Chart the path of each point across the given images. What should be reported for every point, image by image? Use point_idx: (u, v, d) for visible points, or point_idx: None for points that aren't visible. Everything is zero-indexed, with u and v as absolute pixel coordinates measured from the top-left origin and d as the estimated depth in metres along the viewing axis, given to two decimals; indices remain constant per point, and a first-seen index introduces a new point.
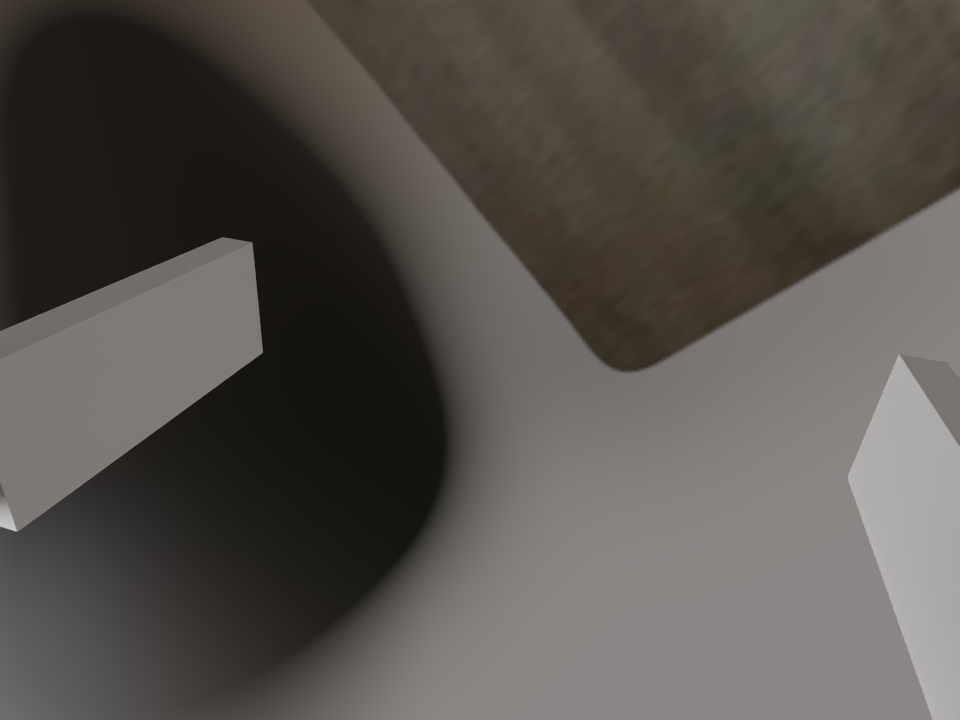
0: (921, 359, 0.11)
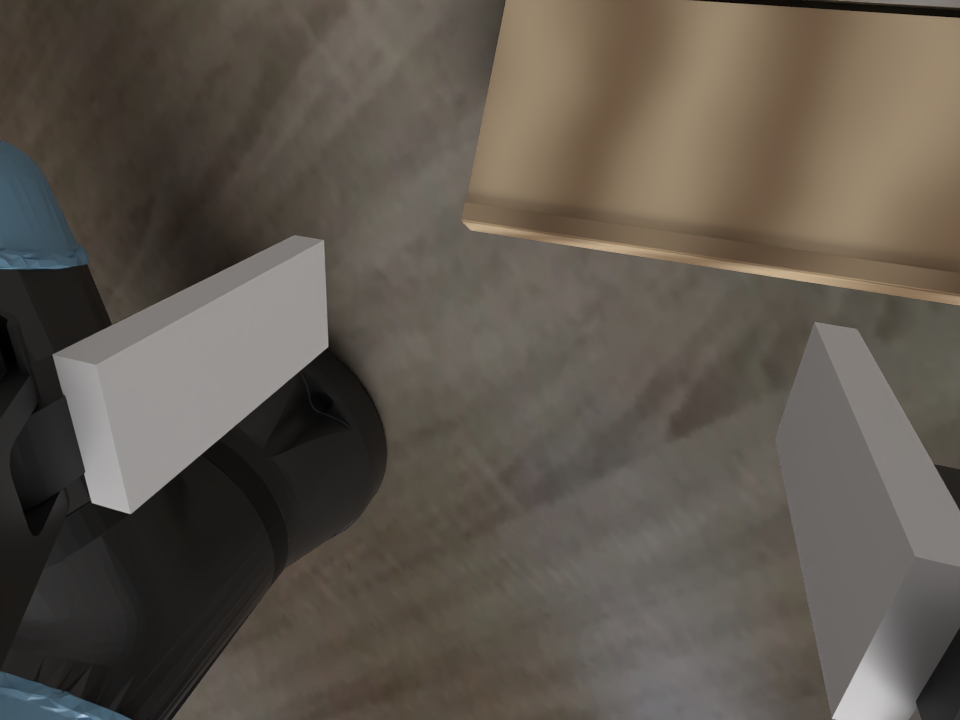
0: (834, 326, 0.12)
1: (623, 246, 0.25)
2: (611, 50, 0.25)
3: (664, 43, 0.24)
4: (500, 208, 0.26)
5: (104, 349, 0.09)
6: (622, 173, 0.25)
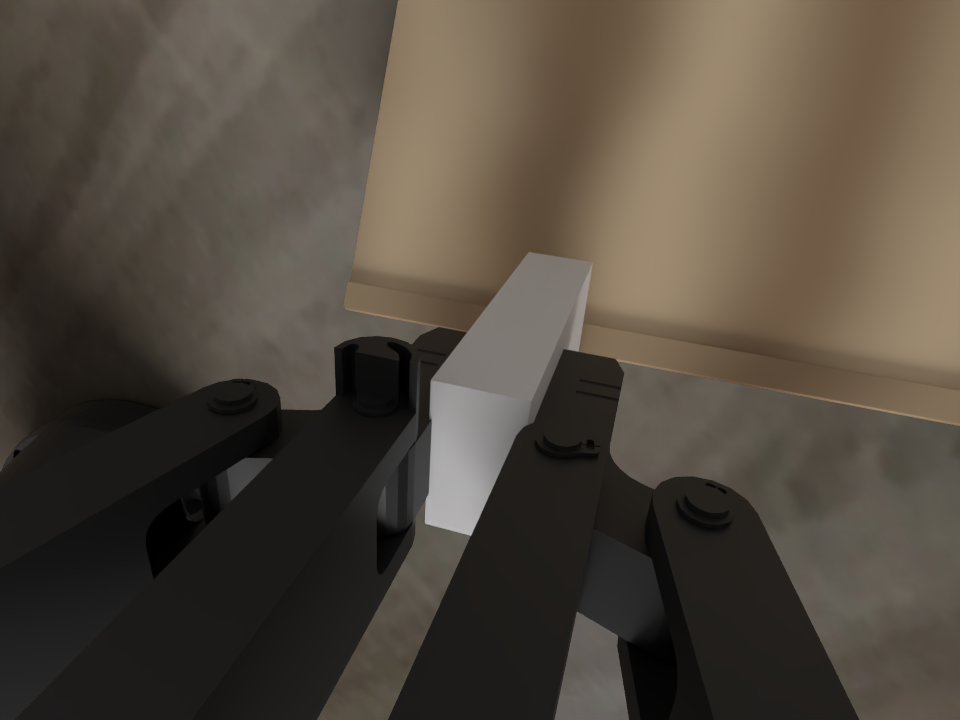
0: (574, 260, 0.15)
1: None
2: (563, 47, 0.16)
3: (645, 35, 0.15)
4: (400, 291, 0.17)
5: (473, 374, 0.10)
6: (581, 241, 0.16)
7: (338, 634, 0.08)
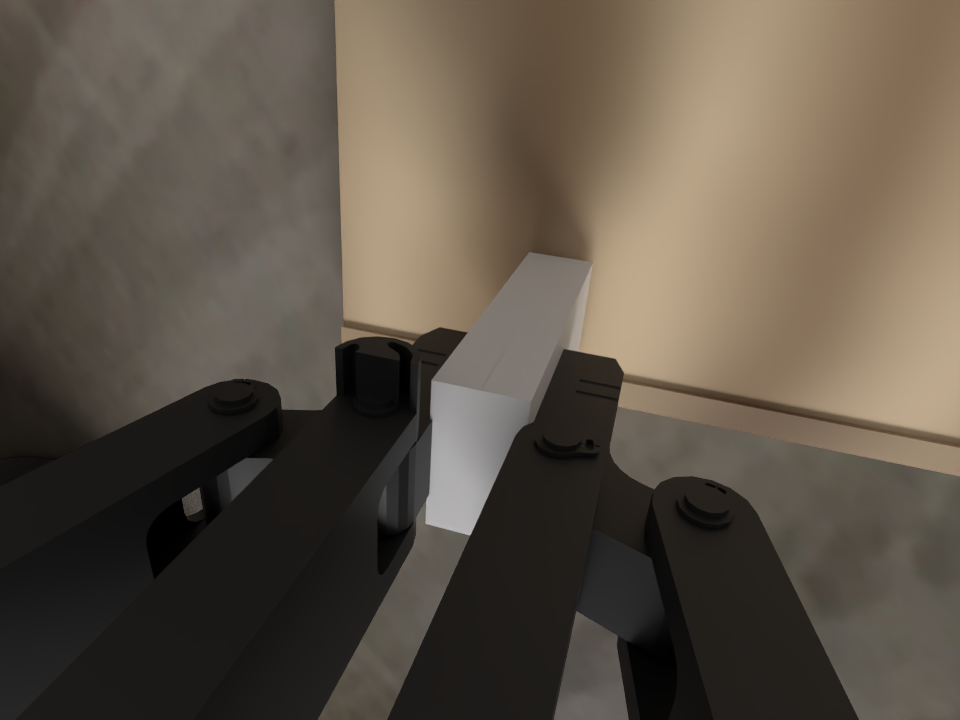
0: (574, 260, 0.15)
1: None
2: (534, 75, 0.13)
3: (630, 60, 0.13)
4: (393, 334, 0.17)
5: (473, 374, 0.10)
6: None
7: (338, 634, 0.08)
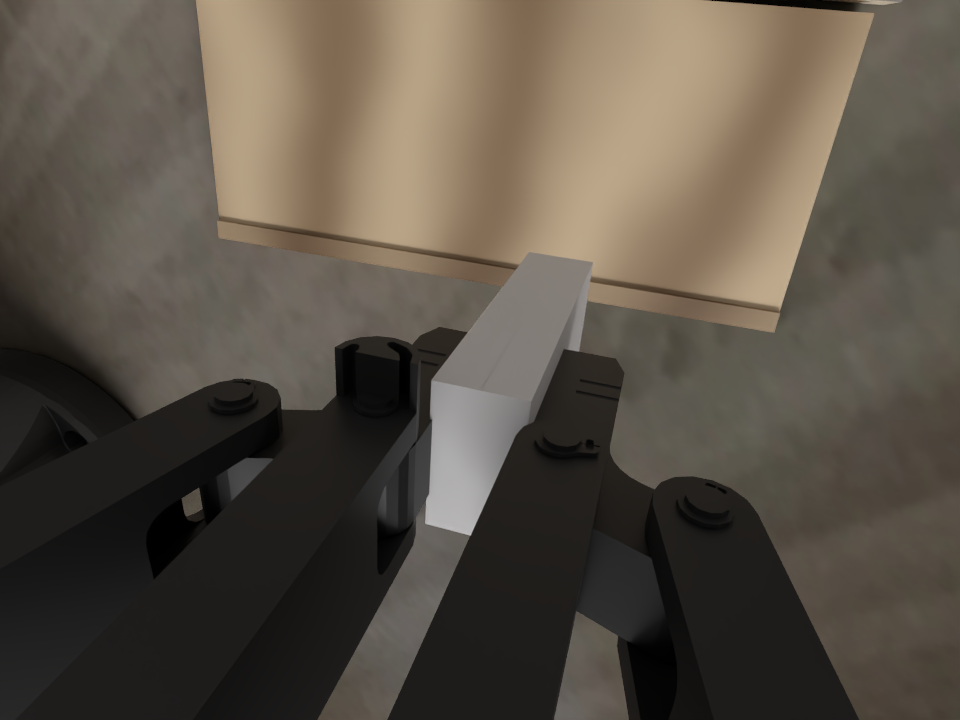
0: (574, 260, 0.15)
1: None
2: (318, 45, 0.22)
3: (372, 35, 0.21)
4: (252, 225, 0.25)
5: (473, 374, 0.10)
6: (356, 189, 0.23)
7: (339, 634, 0.08)
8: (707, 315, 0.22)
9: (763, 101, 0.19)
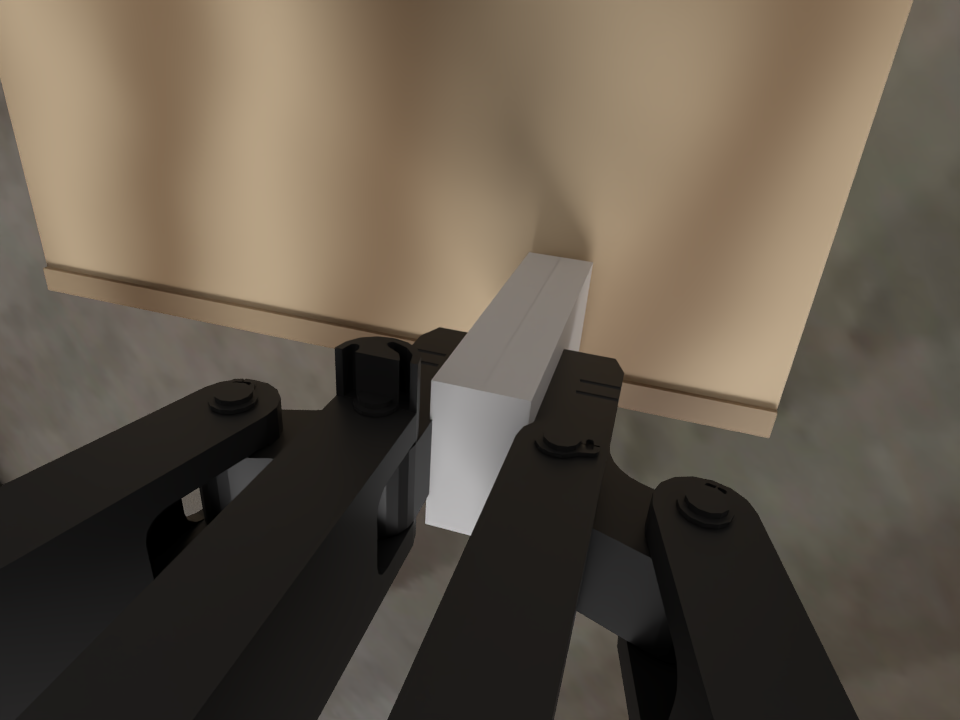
0: (574, 260, 0.15)
1: None
2: (135, 36, 0.16)
3: (200, 22, 0.15)
4: (86, 274, 0.19)
5: (473, 374, 0.10)
6: (206, 231, 0.17)
7: (339, 634, 0.08)
8: (675, 410, 0.16)
9: (749, 113, 0.13)
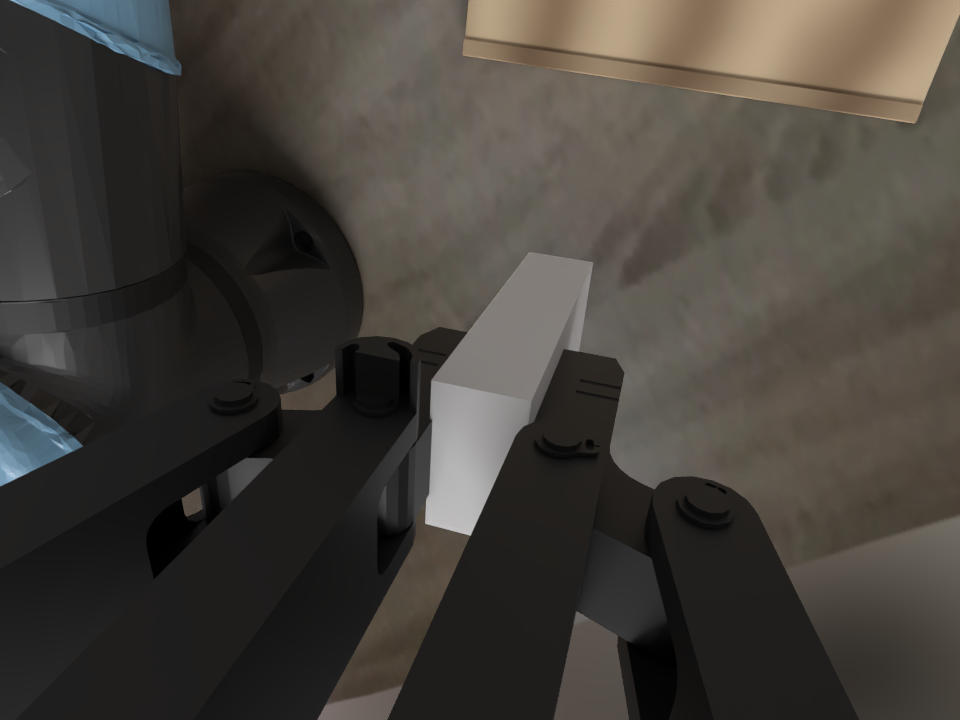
0: (574, 260, 0.15)
1: (587, 73, 0.32)
2: None
3: None
4: (492, 42, 0.32)
5: (473, 374, 0.10)
6: (586, 9, 0.30)
7: (338, 634, 0.08)
8: (861, 110, 0.29)
9: None
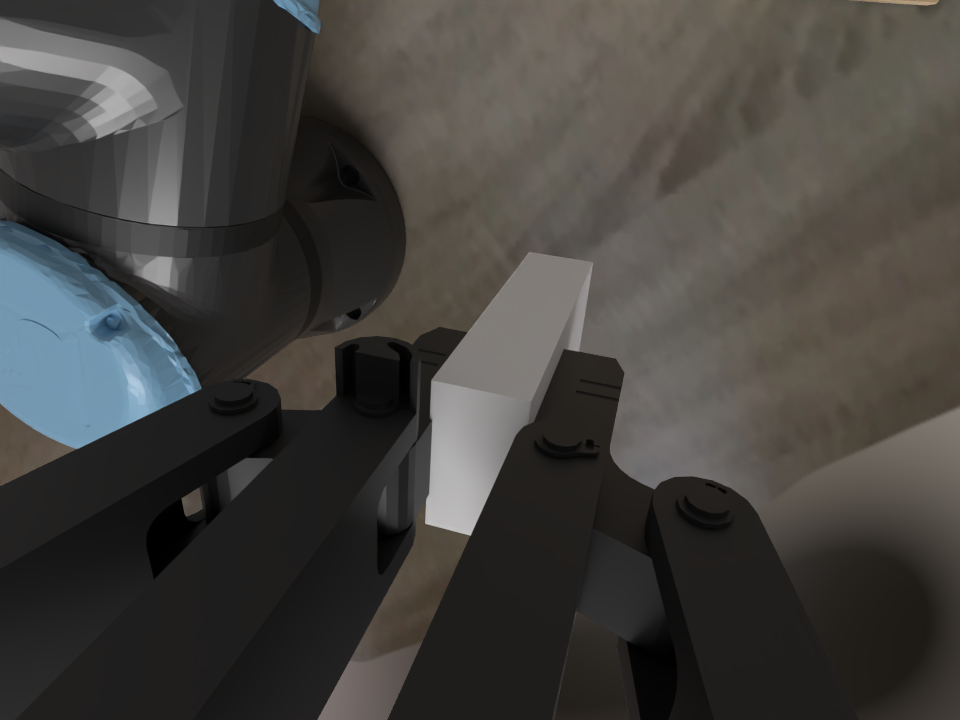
0: (574, 260, 0.15)
1: None
2: None
3: None
4: None
5: (473, 374, 0.10)
6: None
7: (338, 634, 0.08)
8: None
9: None
